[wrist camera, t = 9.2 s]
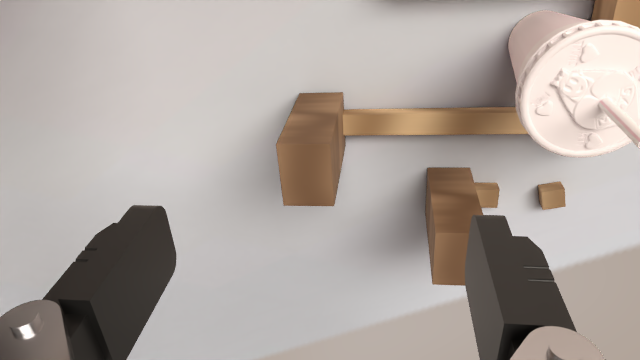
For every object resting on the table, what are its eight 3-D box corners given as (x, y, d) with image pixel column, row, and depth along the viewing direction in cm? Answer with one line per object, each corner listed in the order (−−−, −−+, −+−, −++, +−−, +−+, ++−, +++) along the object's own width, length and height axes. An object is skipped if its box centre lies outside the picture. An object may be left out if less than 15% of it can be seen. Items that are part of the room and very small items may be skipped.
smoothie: (549, 106, 32) (641, 232, 20) (465, 63, 32) (509, 167, 20) (619, 16, 29) (777, 103, 17) (527, -34, 29) (624, 21, 17)
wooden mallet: (304, 145, 36) (283, 205, 29) (290, -6, 31) (260, 23, 24) (589, 144, 33) (641, 209, 26) (627, -23, 28) (704, 5, 21)
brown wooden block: (425, 213, 38) (432, 284, 31) (427, 167, 36) (435, 233, 29) (557, 215, 36) (595, 290, 30) (567, 167, 34) (611, 236, 28)
